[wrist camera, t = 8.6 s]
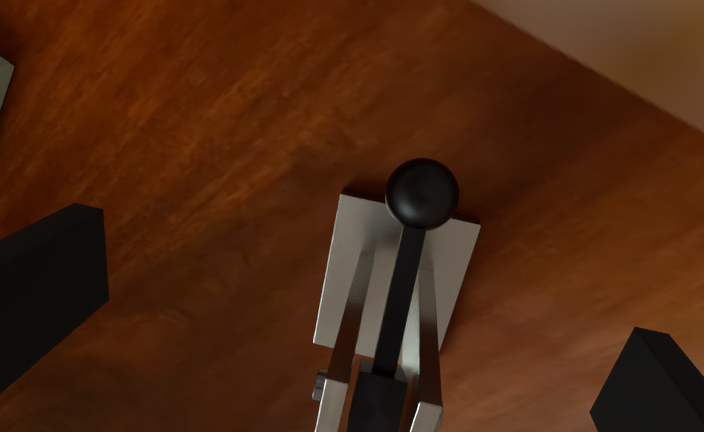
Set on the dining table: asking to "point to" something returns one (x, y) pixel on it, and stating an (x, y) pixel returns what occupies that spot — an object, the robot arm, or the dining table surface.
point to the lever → (401, 289)
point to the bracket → (370, 298)
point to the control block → (4, 77)
